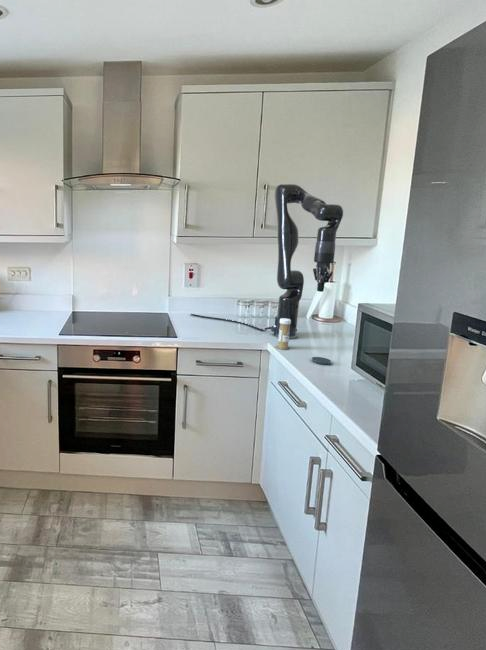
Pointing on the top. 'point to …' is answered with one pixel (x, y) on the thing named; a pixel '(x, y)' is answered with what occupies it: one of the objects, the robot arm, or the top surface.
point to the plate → (321, 360)
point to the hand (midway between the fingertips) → (320, 291)
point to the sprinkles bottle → (284, 333)
